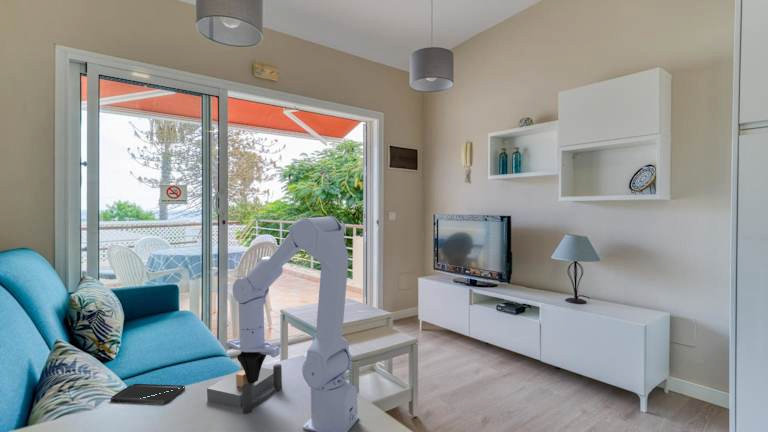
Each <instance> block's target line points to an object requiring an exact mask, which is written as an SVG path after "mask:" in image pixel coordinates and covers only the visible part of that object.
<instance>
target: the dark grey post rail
mask: <svg viewBox="0 0 768 432" xmlns="http://www.w3.org/2000/svg"><path fill="white" fill-rule="evenodd" d="M272 369H273V377H274V385H273V388H272V389H270V390H269V391H267V392H266V393H264V394H263V395H262V396H260V397H258V399H256V400H255V401H253V400H252V385H251V384H250V383H247V384H244V385H242V399H243V407H242V414H244V415H248V414H251V413H253V408H255V407H257V406H258V405H260V404H261V403H262V402H263V401H265V400H267V398H269V397H271V395H273V394H274V393H276V392H279V391H282V390H283V379H282V378H283V375H282V374H283V372H282V364H279V363H277V364H274V365H273V368H272Z"/></svg>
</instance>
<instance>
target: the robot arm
mask: <svg viewBox="0 0 768 432" xmlns="http://www.w3.org/2000/svg"><path fill="white" fill-rule="evenodd" d="M346 245H347V244H346V242H345V227H344V225H343V224H342V222H340V221H339V220H338V219H337V218H336V217H334V216H332V215H326V216H321V217H320V216H318V217H300V218H298V219H297V220H296V221H295V222H294V224H292V225H291V226H290V227H289V228H288V234H287V235H286V237H285V238H284V239H282V241H281V242H280V244H279V245H278V246H277V248H276V249H275V251H273V252H272V254H271V256H270V255H269V256H267V255H266V256H264V257H259V258H258V260H257V264H255V266H254V267H253V268H252V269H251V270H249V271H247V274H246V275H245V276H244V277H238V278H236V279H235V281H234V283H233V285H232V295H233V297H234V299H235V300H236V301H237V302H238V336H239V337H238V338H239V339H233V338H232V339H229V340H227V341H225V349H226V350H228V351H229V350H235V351H240V354H238V355H237V356H236V359H237V361H238V362H239V363H240V366H241V365H242V367H243V369H244V371H245V374H246V377H247V380H248V383H251V384H253V383H255V382H256V381H258V378H259V373H260V369H261V367H262V365H263V363H264V362H265V361H264V360H265V358H266V357H267V356H270V357H271V358H276V357H277V356H279V355H281V354H280V353H281V352H280V349H281V348H280V346H277V345H275V344H272V343H270V342H267V341H266V338H265V313H264V312H265V304H266V303H267V301H266V298H267V296H268V294H269V291H270V287H271V286H272V285H273V283H275V281H277V280H278V278H279V277H280V276H282V275H283V269H284V267H283V266H284V265H286V264H287V262H288V261H290V260H291V259H292V258H294V256H296V255H297V254H298V253H299V252H300V251H301V250H302V251H304V252H306V253H307V255H309V256H311V257H312V258H314V259H315V260H317V262H318V263H319V264H320V277H319V278H320V279H319V289H318V303H317V314H316V315H317V317H316V327H315V329H316V330H315V338H314V339H313V341H312V342H311V344H310V345H309V347H308V349H307V352H306V358H305V360H304V362H303V364H302V367H301V369H302V371H301V372H302V376H303V379H304V381H305V382H306V384H307V385H308V387H309V388H310V419H308V420H307V421H306V422H305V423H304V424H303V426H302V429H304V430H308V431H312V432H349V431H350V429H351V428H353V426H354V425H355V423H356V422H357V421H358V420H359V418H360V415H358V389H357V386H355V385H354V384H351V383H349V382H348V381H346V380H345V379H346V377H347V371H348V370H349V369H350V367H351V364H352V357H351V353H350V350H349V345H350V343H349V341H348V340H347V339H345V338H344V337H343V330H344V320H345V318H344V315H345V307H346V306H345V304H346V293H347V282H348V281H347V280H348V270H349V253H348V249H347V246H346Z"/></svg>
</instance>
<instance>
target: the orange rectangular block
mask: <svg viewBox="0 0 768 432" xmlns="http://www.w3.org/2000/svg"><path fill="white" fill-rule="evenodd" d="M247 383H248V380H247V377H246V374H245V371H244V370H242V371H241V372H239V373H237V374H236V386H239V387H242V385H244V384H247Z"/></svg>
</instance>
